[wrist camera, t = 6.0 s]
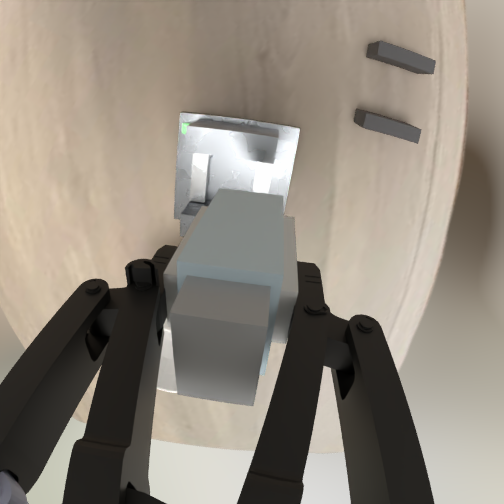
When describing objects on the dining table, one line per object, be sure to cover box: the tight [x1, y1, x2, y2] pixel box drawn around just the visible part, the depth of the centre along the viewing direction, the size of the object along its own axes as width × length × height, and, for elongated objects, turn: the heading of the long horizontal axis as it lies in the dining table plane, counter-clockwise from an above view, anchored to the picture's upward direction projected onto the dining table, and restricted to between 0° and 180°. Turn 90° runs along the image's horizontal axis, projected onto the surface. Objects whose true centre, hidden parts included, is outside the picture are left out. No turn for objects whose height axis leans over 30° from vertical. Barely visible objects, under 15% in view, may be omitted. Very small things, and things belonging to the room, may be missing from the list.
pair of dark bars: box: [354, 41, 436, 144], centre depth 25 cm, size 8×6×4 cm, turn 172°
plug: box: [170, 188, 284, 406], centre depth 14 cm, size 5×4×10 cm
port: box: [174, 112, 300, 237], centre depth 31 cm, size 12×12×5 cm
